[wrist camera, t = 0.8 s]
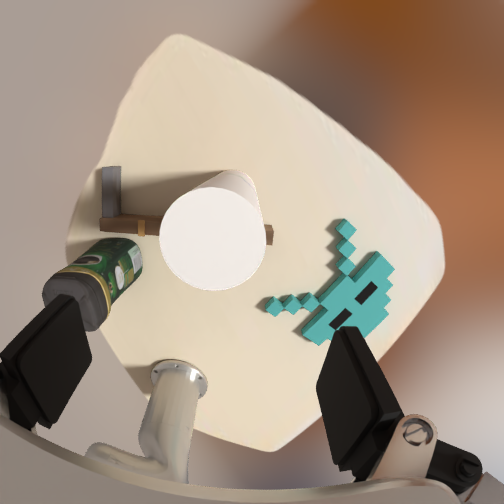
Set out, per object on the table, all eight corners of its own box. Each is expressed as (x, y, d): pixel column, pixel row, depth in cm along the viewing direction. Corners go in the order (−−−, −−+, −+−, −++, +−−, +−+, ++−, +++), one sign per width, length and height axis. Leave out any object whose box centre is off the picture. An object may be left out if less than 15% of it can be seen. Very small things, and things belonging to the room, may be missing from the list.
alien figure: (264, 303, 49) (337, 352, 53) (265, 310, 47) (340, 359, 51) (343, 217, 44) (407, 283, 48) (347, 221, 41) (412, 288, 46)
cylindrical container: (231, 225, 43) (213, 308, 20) (199, 192, 42) (139, 240, 18) (265, 193, 42) (288, 243, 18) (232, 159, 40) (211, 163, 16)
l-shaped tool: (269, 238, 44) (272, 247, 40) (111, 226, 43) (99, 232, 39) (277, 174, 41) (280, 176, 37) (110, 166, 40) (98, 168, 35)
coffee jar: (101, 278, 46) (48, 333, 29) (94, 237, 44) (30, 280, 26) (147, 279, 46) (103, 342, 29) (141, 235, 44) (85, 283, 26)
